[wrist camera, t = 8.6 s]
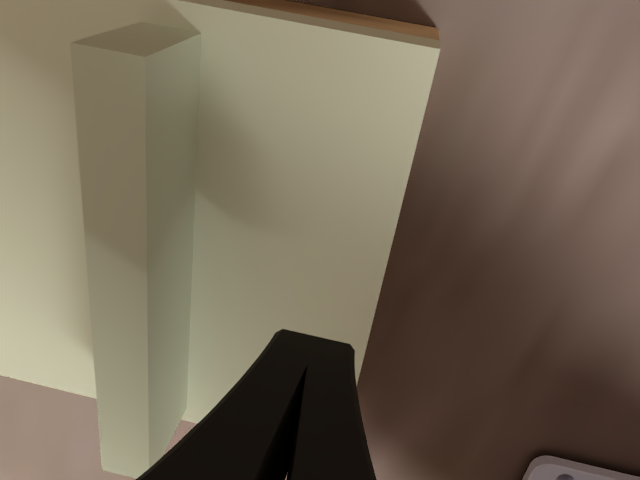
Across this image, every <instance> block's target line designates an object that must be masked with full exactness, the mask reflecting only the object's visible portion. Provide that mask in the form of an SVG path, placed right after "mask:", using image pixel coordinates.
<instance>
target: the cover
mask: <svg viewBox="0 0 640 480" xmlns="http://www.w3.org/2000/svg"><path fill="white" fill-rule="evenodd" d="M439 53H440V41H439V40H435V39H430V38H425V37H419V36H414V35H408V34H403V33H398V32H392V31H387V30H382V29H376V28H371V27H365V26H360V25H355V24H349V23H344V22H338V21H333V20H328V19H322V18H317V17H312V16H306V15H301V14H295V13H290V12H285V11H279V10H274V9H268V8H263V7H258V6H252V5H247V4H241V3H236V2H231V1H225V0H0V375H2V376H6V377H10V378H14V379H18V380H22V381H26V382H30V383H35V384H39V385H43V386H47V387H51V388H55V389H59V390H63V391H67V392H71V393H75V394H79V395H83V396H87V397H92V398H96V399H97V410H98V424H99V437H100V451H101V464H102V470H105V471H109V472H112V473H116V474H120V475H124V476H128V477H132V478H136V479H137V478H138V477H139V476H141V475H142V474H143V473H144V472H145V471H147V470H148V469H149V468H150V467H151V466H152V465H154V464H155V463H156V462H157V461H158V460H159V459H160V458H162V456H163V454H164V452H165V450H166V448H167V446H168V444H169V442H170V440H171V438H172V436H173V434H174V432H175V430H176V429H177V427H178V425H179V423H180V421H181V420H185V421H189V422H193V423H197V424H198V423H199V422H200V421H201V420H202V419H203V418H204V417H205V416H206V415H207V414H208V413H209V412H210V411H211V410H212V409H213V408H214V407H215V406H216V405H217V404H218V402H219V401H220V400H221V399H222V398H223V397H224V396H225V395H226V394H227V393H228V392H229V390H230V389H231V388H232V387H233V386H234V385H235V384H236V383H237V382H238V381H239V380H240V378H241V377H242V376H243V375H244V374H245V372H246V371H247V370H248V369H249V368H250V367H251V365H252V364H253V363H254V362H255V360H256V359H257V358H258V357H259V355H260V354H261V353H262V351H263V350H264V349H265V347H266V346H267V345H268V343H269V342H270V340H271V339H272V337H273V336H274V334H275V333H276V332H277V331H279V330H281V329H286V330H290V331H295V332H299V333H304V334H308V335H313V336H317V337H321V338H326V339H330V340H335V341H339V342H343V343H348V344H350V345H351V346H352V347H353V349H354V350H355V378H356V387H357V383H358V379H359V375H360V371H361V367H362V363H363V359H364V355H365V351H366V347H367V343H368V339H369V335H370V331H371V327H372V323H373V319H374V315H375V311H376V306H377V302H378V298H379V294H380V290H381V286H382V282H383V278H384V274H385V270H386V266H387V262H388V258H389V254H390V250H391V246H392V242H393V238H394V234H395V230H396V226H397V222H398V218H399V214H400V210H401V206H402V202H403V198H404V194H405V190H406V186H407V182H408V178H409V174H410V170H411V166H412V162H413V158H414V154H415V150H416V146H417V142H418V138H419V133H420V129H421V125H422V121H423V117H424V113H425V109H426V105H427V101H428V97H429V93H430V89H431V85H432V81H433V77H434V73H435V69H436V65H437V61H438V57H439Z"/></svg>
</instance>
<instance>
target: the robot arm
mask: <svg viewBox="0 0 640 480" xmlns="http://www.w3.org/2000/svg"><path fill="white" fill-rule="evenodd" d="M287 472H288V473H287ZM562 474H566V475H562ZM286 475H287V480H376V476H375V473H374V469H373V465H372V461H371V458H370V454H369V449H368V445H367V440H366V436H365V432H364V427H363V423H362V418H361V412H360V407H359V400H358V394H357V387H356V378H355V350H354V349H353V347H352V346H351V345H350V344H348V343H343V342H339V341H335V340H330V339H326V338H321V337H317V336H313V335H308V334H304V333H299V332H295V331H290V330H286V329H281V330H279V331H277V332H276V333H275V334H274V336H273V337H272V339H271V340H270V342H269V343H268V345H267V346H266V347H265V349H264V350H263V351H262V353H261V354H260V355H259V357H258V358H257V359H256V360H255V362H254V363H253V364H252V365H251V367H250V368H249V369H248V370H247V371H246V372H245V374H244V375H243V376H242V377H241V378H240V380H239V381H238V382H237V383H236V384H235V385H234V386H233V387H232V388H231V389H230V390H229V392H228V393H227V394H226V395H225V396H224V397H223V398H222V399H221V400H220V401H219V402H218V404H217V405H216V406H215V407H214V408H213V409H212V410H211V411H210V412H209V413H208V414H207V415H206V416H205V417H204V418H203V419H202V420H201V421H200V422H199V423H198V424H197V425H196V426H195V427H194V428H193V429H191V430H190V431H189V432H188V433H187V434H186V435H185V436H184V437H183V438H182V439H181V440H180V441H179V442H178V443H177V444H176V445H175V446H174V447H173V448H172V449H171V450H169V451H168V452H167V453H166V454H165V455H164V456H163V457H162V458H160V459H159V460H158V461H157V462H156V463H155V464H154V465H152V466H151V467H150V468H149V469H148V470H147V471H145V472H144V473H143V474H142V475H141V476H139V477H138V478H137V479H136V480H285V478H286ZM522 480H640V477H637V476H633V475H629V474H625V473H621V472H616V471H612V470H608V469H604V468H600V467H595V466H591V465H587V464H583V463H579V462H574V461H570V460H566V459H562V458H558V457H553V456H546V455H545V456H539V457H537V458H535V459H534V460H533V461H532V462H531V463H530V465H529V467H528V469H527V471H526V473H525V475H524V477H523V479H522Z"/></svg>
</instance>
